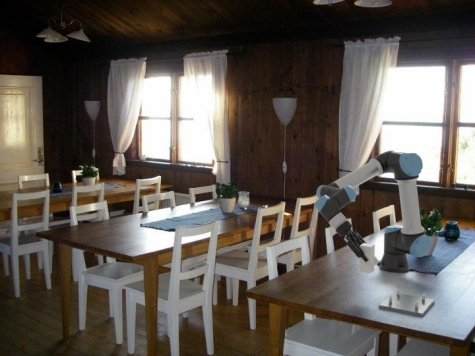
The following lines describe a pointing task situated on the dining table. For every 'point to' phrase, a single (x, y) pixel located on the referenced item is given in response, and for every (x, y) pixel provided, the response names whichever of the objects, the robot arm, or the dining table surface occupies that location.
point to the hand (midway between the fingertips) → (374, 265)
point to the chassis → (407, 304)
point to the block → (369, 250)
